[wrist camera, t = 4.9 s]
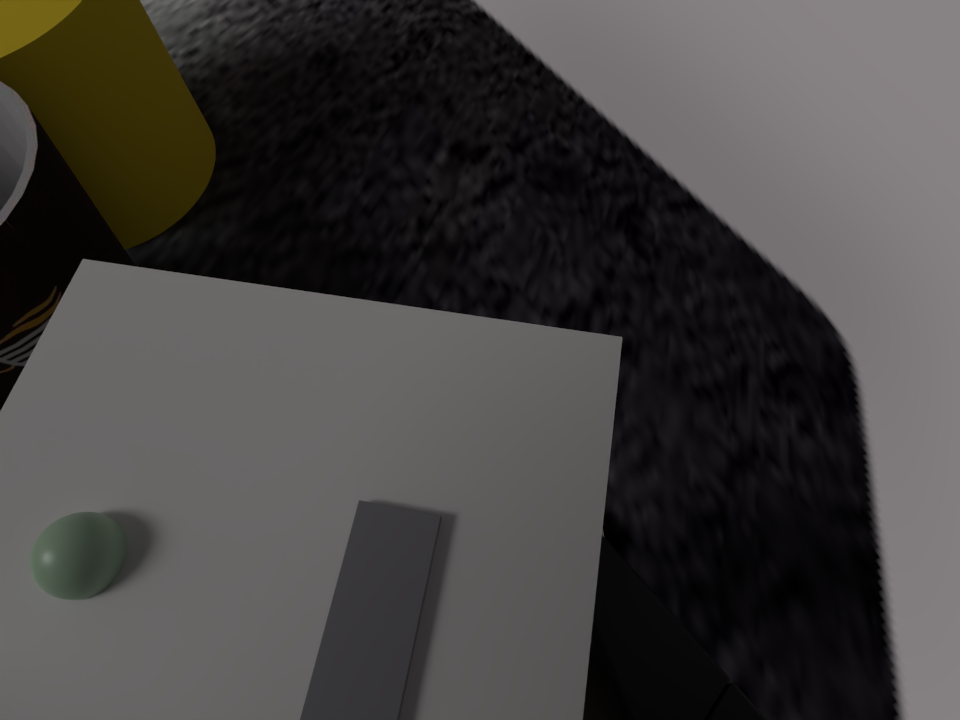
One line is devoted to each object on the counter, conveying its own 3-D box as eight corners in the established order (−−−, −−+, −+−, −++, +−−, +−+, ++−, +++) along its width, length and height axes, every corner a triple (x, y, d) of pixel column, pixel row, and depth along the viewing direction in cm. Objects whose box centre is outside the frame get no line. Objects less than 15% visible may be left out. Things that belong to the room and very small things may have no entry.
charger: (512, 765, 13) (536, 1250, 2) (331, 725, 14) (-362, 965, 3) (539, 571, 15) (630, 314, 4) (377, 540, 16) (56, 234, 4)
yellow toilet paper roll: (61, 83, 33) (-94, -120, 24) (244, 104, 32) (150, -100, 23) (-40, 241, 29) (-270, 64, 20) (168, 271, 28) (18, 97, 19)
